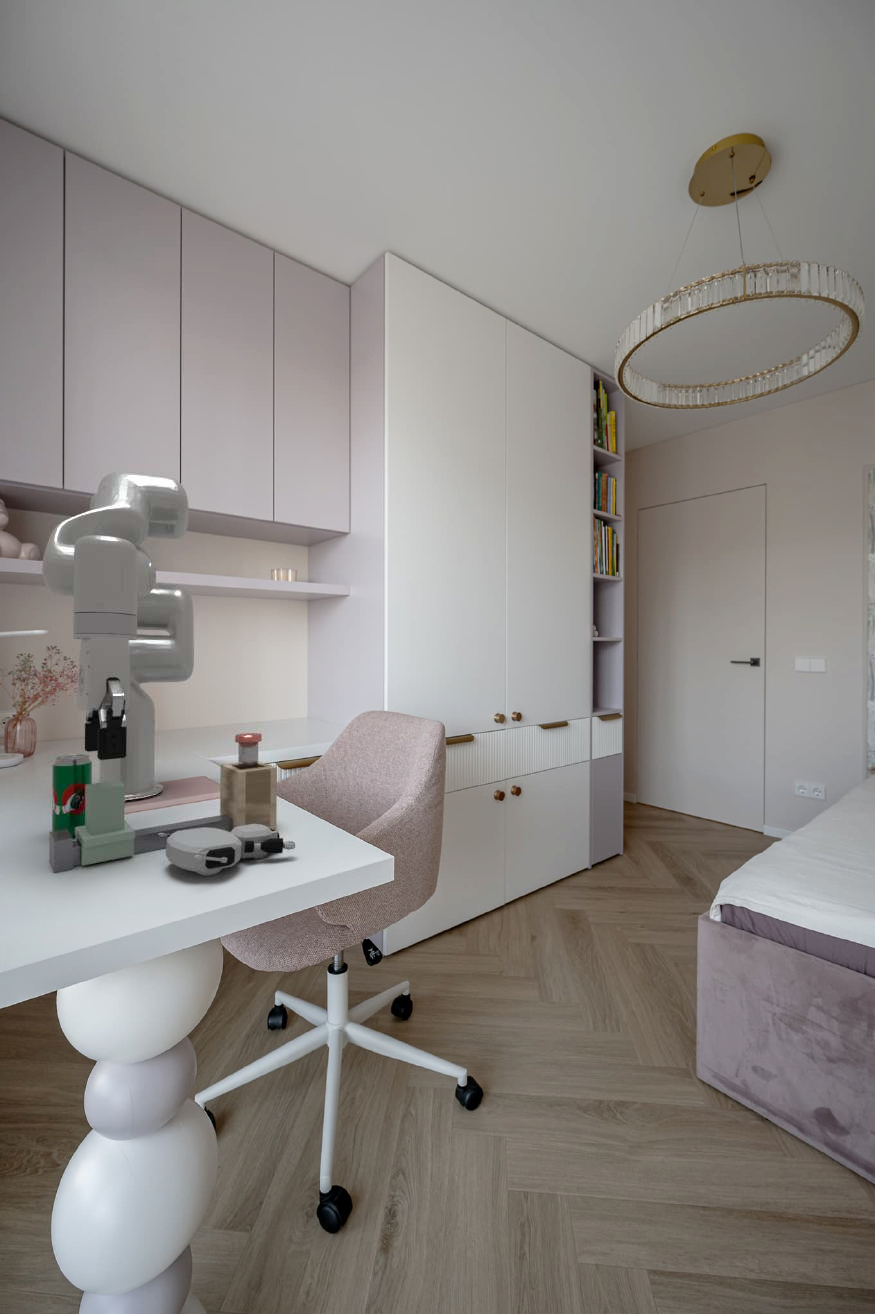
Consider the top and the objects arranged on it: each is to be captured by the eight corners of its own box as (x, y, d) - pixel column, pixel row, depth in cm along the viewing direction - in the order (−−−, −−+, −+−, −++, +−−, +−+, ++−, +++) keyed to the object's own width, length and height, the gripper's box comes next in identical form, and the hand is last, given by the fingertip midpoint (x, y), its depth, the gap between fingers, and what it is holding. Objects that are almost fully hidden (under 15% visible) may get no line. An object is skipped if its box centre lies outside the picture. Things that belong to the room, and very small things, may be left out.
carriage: (74, 852, 78) (75, 783, 78) (123, 843, 82) (124, 777, 82) (83, 867, 72) (83, 793, 72) (134, 856, 76) (135, 786, 76)
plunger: (231, 771, 90) (231, 734, 90) (255, 768, 93) (255, 732, 93) (240, 776, 87) (240, 737, 87) (265, 772, 90) (265, 735, 90)
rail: (49, 861, 75) (49, 831, 75) (229, 827, 90) (229, 802, 90) (54, 872, 71) (54, 841, 71) (241, 834, 87) (241, 809, 87)
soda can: (98, 830, 89) (99, 754, 89) (75, 840, 84) (75, 759, 84) (69, 829, 89) (69, 753, 89) (43, 839, 84) (44, 759, 84)
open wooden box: (220, 826, 91) (220, 764, 91) (256, 819, 95) (256, 760, 95) (238, 838, 85) (239, 772, 85) (276, 830, 89) (276, 767, 89)
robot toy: (256, 845, 85) (151, 863, 74) (259, 815, 85) (154, 828, 75) (300, 867, 76) (187, 890, 66) (302, 833, 77) (191, 851, 66)
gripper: (64, 631, 81) (63, 750, 81) (84, 623, 68) (82, 765, 67) (122, 633, 86) (121, 745, 85) (152, 626, 73) (151, 759, 72)
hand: (104, 754), depth 76 cm, fingers open, 9 cm apart
